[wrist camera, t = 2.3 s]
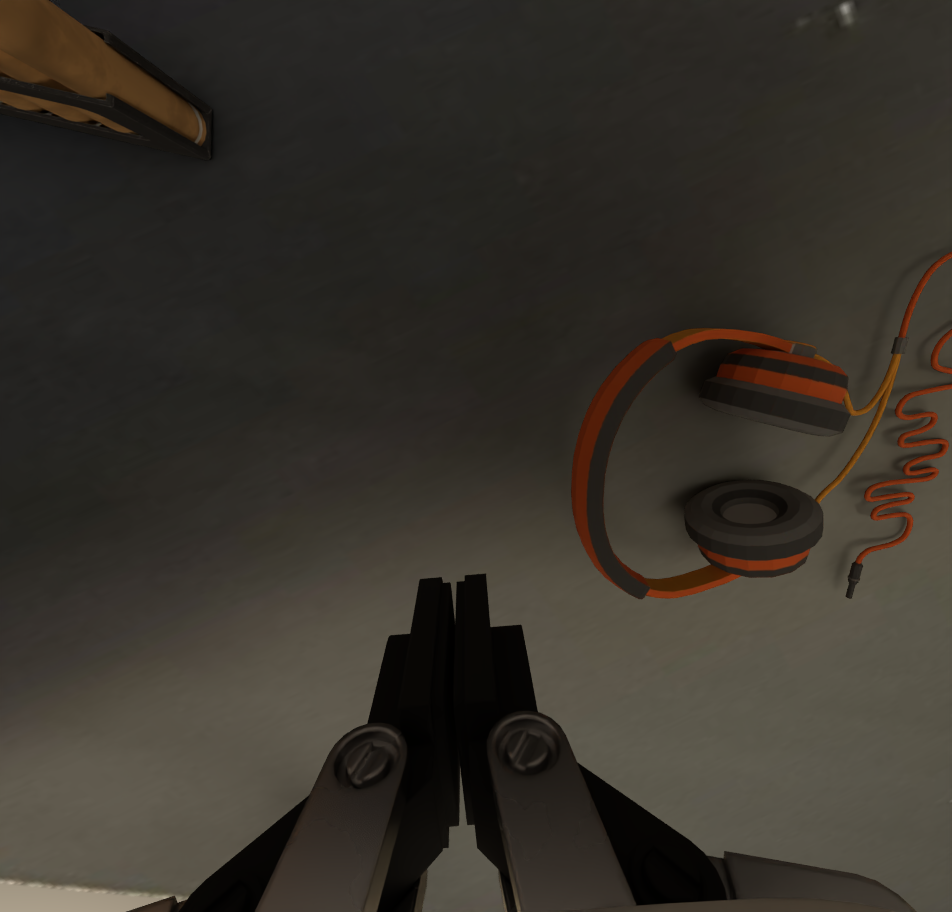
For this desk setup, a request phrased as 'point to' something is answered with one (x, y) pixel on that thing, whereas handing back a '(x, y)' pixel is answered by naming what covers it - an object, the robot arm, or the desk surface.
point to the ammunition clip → (93, 83)
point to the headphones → (745, 501)
